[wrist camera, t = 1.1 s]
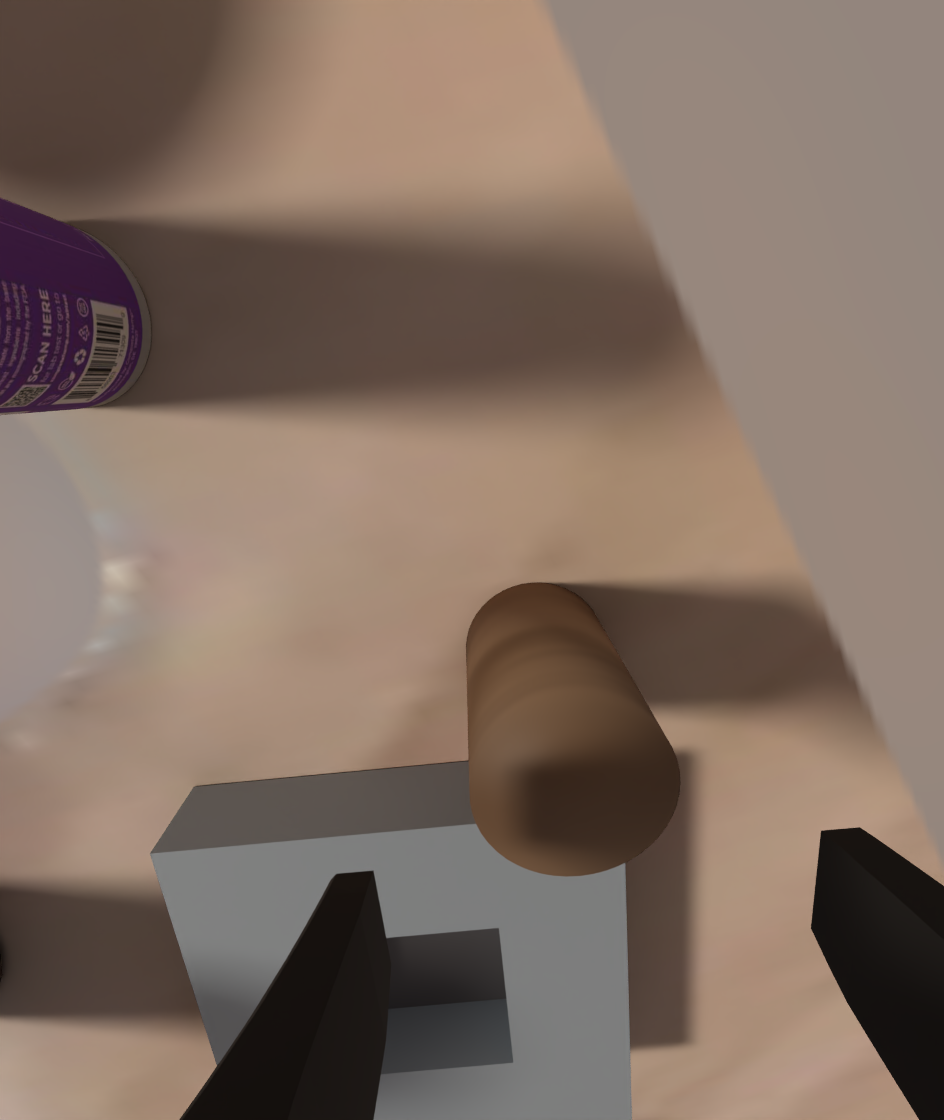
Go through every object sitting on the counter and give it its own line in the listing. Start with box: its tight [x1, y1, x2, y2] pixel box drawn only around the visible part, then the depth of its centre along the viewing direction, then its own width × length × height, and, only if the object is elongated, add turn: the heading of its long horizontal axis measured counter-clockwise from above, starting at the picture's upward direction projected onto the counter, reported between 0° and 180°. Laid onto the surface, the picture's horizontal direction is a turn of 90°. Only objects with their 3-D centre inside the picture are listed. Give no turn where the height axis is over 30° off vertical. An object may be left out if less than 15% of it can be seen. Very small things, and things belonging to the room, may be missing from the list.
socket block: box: [150, 761, 632, 1120], centre depth 21 cm, size 14×14×3 cm
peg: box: [466, 583, 680, 877], centre depth 16 cm, size 4×4×7 cm
